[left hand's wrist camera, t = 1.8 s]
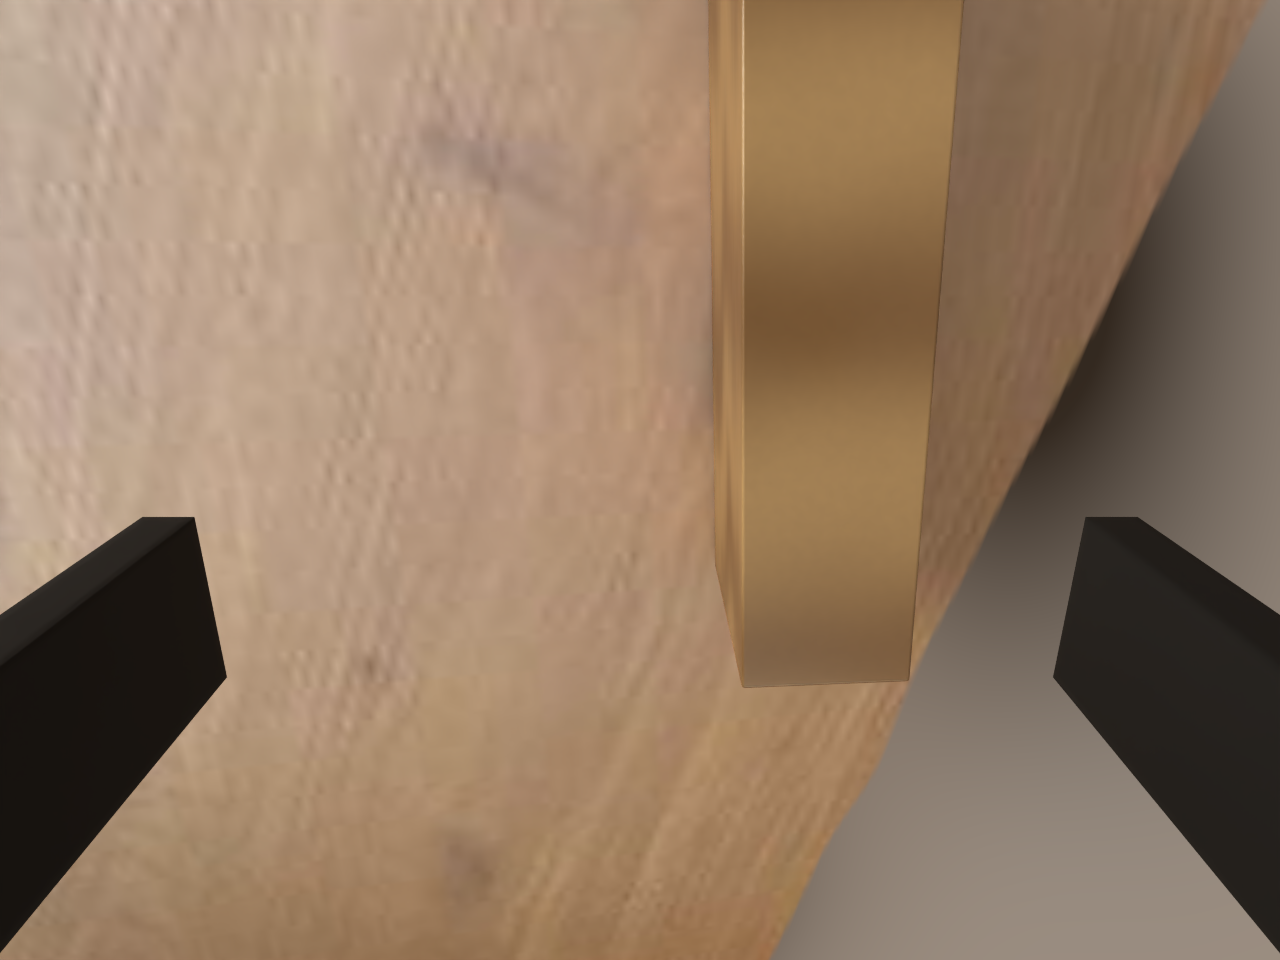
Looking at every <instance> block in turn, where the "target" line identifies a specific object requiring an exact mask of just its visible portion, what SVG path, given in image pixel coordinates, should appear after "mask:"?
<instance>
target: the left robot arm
mask: <svg viewBox="0 0 1280 960" xmlns="http://www.w3.org/2000/svg"><path fill="white" fill-rule="evenodd" d="M226 678H227V675H226V670H225V666H224V661H223V656H222V651H221V646H220V641H219V636H218V631H217V626H216V621H215V616H214V611H213V606H212V601H211V597H210V592H209V587H208V582H207V577H206V572H205V567H204V562H203V557H202V552H201V547H200V542H199V537H198V533H197V528H196V523H195V518H194V517H142V518H140V519H139V520H137V521H136V522H135V523H133V524H132V525H130V526H129V527H127V528H126V529H124V530H123V531H121V532H120V533H119V534H117V535H116V536H114V537H113V538H111V539H110V540H108V541H107V542H105V543H104V544H103V545H101V546H100V547H98V548H97V549H95V550H94V551H92V552H91V553H89V554H88V555H87V556H85V557H84V558H82V559H81V560H79V561H78V562H76V563H75V564H73V565H72V566H71V567H69V568H68V569H66V570H65V571H63V572H62V573H60V574H59V575H57V576H56V577H55V578H53V579H52V580H50V581H49V582H47V583H46V584H44V585H43V586H41V587H40V588H39V589H37V590H36V591H34V592H33V593H31V594H30V595H28V596H27V597H25V598H24V599H23V600H21V601H20V602H18V603H17V604H15V605H14V606H12V607H11V608H10V609H8V610H7V611H5V612H4V613H2V614H1V615H0V952H1V951H2V950H3V949H4V948H5V946H6V945H7V944H8V943H9V942H10V940H11V939H12V938H13V937H14V935H15V934H16V933H17V932H18V931H19V929H20V928H21V927H22V926H23V925H24V923H25V922H26V921H27V920H28V918H29V917H30V916H31V915H32V914H33V912H34V911H35V910H36V909H37V907H38V906H39V905H40V904H41V903H42V901H43V900H44V899H45V898H46V897H47V895H48V894H49V893H50V892H51V890H52V889H53V888H54V887H55V886H56V884H57V883H58V882H59V881H60V880H61V878H62V877H63V876H64V875H65V873H66V872H67V871H68V870H69V869H70V867H71V866H72V865H73V864H74V862H75V861H76V860H77V859H78V858H79V856H80V855H81V854H82V853H83V852H84V850H85V849H86V848H87V847H88V845H89V844H90V843H91V842H92V841H93V839H94V838H95V837H96V836H97V835H98V833H99V832H100V831H101V830H102V828H103V827H104V826H105V825H106V824H107V822H108V821H109V820H110V819H111V818H112V816H113V815H114V814H115V813H116V811H117V810H118V809H119V808H120V807H121V805H122V804H123V803H124V802H125V800H126V799H127V798H128V797H129V796H130V794H131V793H132V792H133V791H134V790H135V788H136V787H137V786H138V785H139V783H140V782H141V781H142V780H143V779H144V777H145V776H146V775H147V774H148V773H149V771H150V770H151V769H152V768H153V766H154V765H155V764H156V763H157V762H158V760H159V759H160V758H161V757H162V755H163V754H164V753H165V752H166V751H167V749H168V748H169V747H170V746H171V745H172V743H173V742H174V741H175V740H176V738H177V737H178V736H179V735H180V734H181V732H182V731H183V730H184V729H185V728H186V726H187V725H188V724H189V723H190V721H191V720H192V719H193V718H194V717H195V715H196V714H197V713H198V712H199V710H200V709H201V708H202V707H203V706H204V704H205V703H206V702H207V701H208V700H209V698H210V697H211V696H212V695H213V693H214V692H215V691H216V690H217V689H218V687H219V686H220V685H221V684H222V683H223V681H224V680H225V679H226ZM1053 678H1054V679H1055V680H1056V681H1057V683H1058V684H1059V685H1060V686H1061V687H1062V689H1063V690H1064V691H1065V692H1066V693H1067V695H1068V696H1069V697H1070V698H1071V700H1072V701H1073V702H1074V703H1075V704H1076V706H1077V707H1078V708H1079V709H1080V710H1081V712H1082V713H1083V714H1084V715H1085V717H1086V718H1087V719H1088V720H1089V721H1090V723H1091V724H1092V725H1093V726H1094V728H1095V729H1096V730H1097V731H1098V732H1099V734H1100V735H1101V736H1102V737H1103V738H1104V740H1105V741H1106V742H1107V743H1108V744H1109V746H1110V747H1111V748H1112V749H1113V751H1114V752H1115V753H1116V754H1117V755H1118V757H1119V758H1120V759H1121V760H1122V762H1123V763H1124V764H1125V765H1126V766H1127V768H1128V769H1129V770H1130V771H1131V772H1132V774H1133V775H1134V776H1135V777H1136V779H1137V780H1138V781H1139V782H1140V783H1141V785H1142V786H1143V787H1144V788H1145V790H1146V791H1147V792H1148V793H1149V794H1150V796H1151V797H1152V798H1153V799H1154V800H1155V802H1156V803H1157V804H1158V805H1159V807H1160V808H1161V809H1162V810H1163V811H1164V813H1165V814H1166V815H1167V816H1168V818H1169V819H1170V820H1171V821H1172V822H1173V824H1174V825H1175V826H1176V827H1177V828H1178V830H1179V831H1180V832H1181V833H1182V834H1183V836H1184V837H1185V838H1186V839H1187V841H1188V842H1189V843H1190V844H1191V845H1192V847H1193V848H1194V849H1195V850H1196V852H1197V853H1198V854H1199V855H1200V856H1201V858H1202V859H1203V860H1204V861H1205V862H1206V864H1207V865H1208V866H1209V867H1210V869H1211V870H1212V871H1213V872H1214V873H1215V875H1216V876H1217V877H1218V878H1219V880H1220V881H1221V882H1222V883H1223V884H1224V886H1225V887H1226V888H1227V889H1228V890H1229V892H1230V893H1231V894H1232V895H1233V897H1234V898H1235V899H1236V900H1237V901H1238V903H1239V904H1240V905H1241V906H1242V907H1243V909H1244V910H1245V911H1246V912H1247V914H1248V915H1249V916H1250V917H1251V918H1252V920H1253V921H1254V922H1255V923H1256V925H1257V926H1258V927H1259V928H1260V929H1261V931H1262V932H1263V933H1264V934H1265V935H1266V937H1267V938H1268V939H1269V940H1270V942H1271V943H1272V944H1273V945H1274V946H1275V948H1276V949H1277V950H1278V951H1279V952H1280V615H1279V614H1278V613H1276V612H1275V611H1273V610H1272V609H1270V608H1269V607H1268V606H1266V605H1265V604H1263V603H1262V602H1260V601H1259V600H1257V599H1256V598H1254V597H1253V596H1251V595H1250V594H1249V593H1247V592H1246V591H1244V590H1243V589H1241V588H1240V587H1239V586H1237V585H1236V584H1234V583H1233V582H1231V581H1230V580H1228V579H1227V578H1225V577H1224V576H1223V575H1221V574H1220V573H1218V572H1217V571H1215V570H1214V569H1212V568H1211V567H1209V566H1208V565H1206V564H1205V563H1204V562H1202V561H1201V560H1199V559H1198V558H1196V557H1195V556H1193V555H1192V554H1190V553H1189V552H1188V551H1186V550H1185V549H1183V548H1182V547H1180V546H1179V545H1177V544H1176V543H1175V542H1173V541H1172V540H1170V539H1169V538H1167V537H1166V536H1164V535H1163V534H1161V533H1160V532H1158V531H1157V530H1156V529H1154V528H1153V527H1151V526H1150V525H1148V524H1147V523H1145V522H1144V521H1143V520H1141V519H1140V518H1138V517H1086V518H1085V523H1084V528H1083V533H1082V538H1081V542H1080V547H1079V552H1078V557H1077V562H1076V567H1075V572H1074V577H1073V582H1072V587H1071V592H1070V597H1069V601H1068V606H1067V611H1066V616H1065V621H1064V626H1063V631H1062V636H1061V641H1060V646H1059V651H1058V656H1057V661H1056V666H1055V670H1054V675H1053Z"/></svg>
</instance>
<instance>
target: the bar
mask: <svg viewBox="0 0 1280 960" xmlns="http://www.w3.org/2000/svg"><path fill="white" fill-rule="evenodd" d="M963 7H964V0H708V12H709V92H710V171H711V251H712V331H713V411H714V491H715V566H716V570H717V575H718V580H719V584H720V589H721V593H722V598H723V602H724V607H725V612H726V616H727V621H728V625H729V630H730V634H731V639H732V644H733V648H734V653H735V657H736V662H737V666H738V671H739V676H740V680H741V685H742V687H744V688H753V687H777V686H800V685H824V684H848V683H871V682H895V681H908V680H909V675H910V663H911V651H912V638H913V626H914V613H915V601H916V589H917V576H918V564H919V552H920V539H921V527H922V514H923V502H924V490H925V477H926V465H927V452H928V440H929V428H930V415H931V403H932V391H933V378H934V366H935V353H936V341H937V329H938V316H939V304H940V291H941V279H942V267H943V254H944V242H945V230H946V217H947V205H948V192H949V180H950V168H951V155H952V143H953V130H954V118H955V106H956V93H957V81H958V69H959V56H960V44H961V31H962V19H963Z"/></svg>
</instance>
